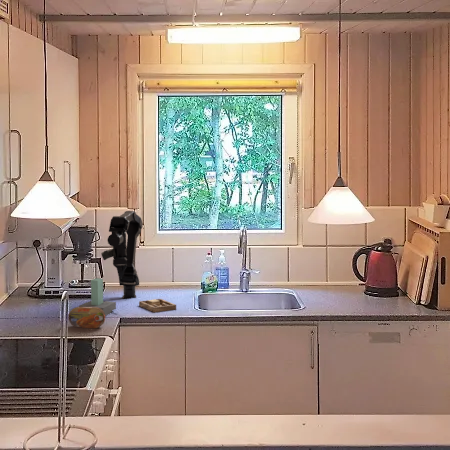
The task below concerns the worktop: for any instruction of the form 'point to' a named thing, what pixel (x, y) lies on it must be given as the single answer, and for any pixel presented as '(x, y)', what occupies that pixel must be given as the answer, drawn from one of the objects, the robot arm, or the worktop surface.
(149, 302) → the offcut upper
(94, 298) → the mint green block
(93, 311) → the tin
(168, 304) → the rack
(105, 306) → the plinth
